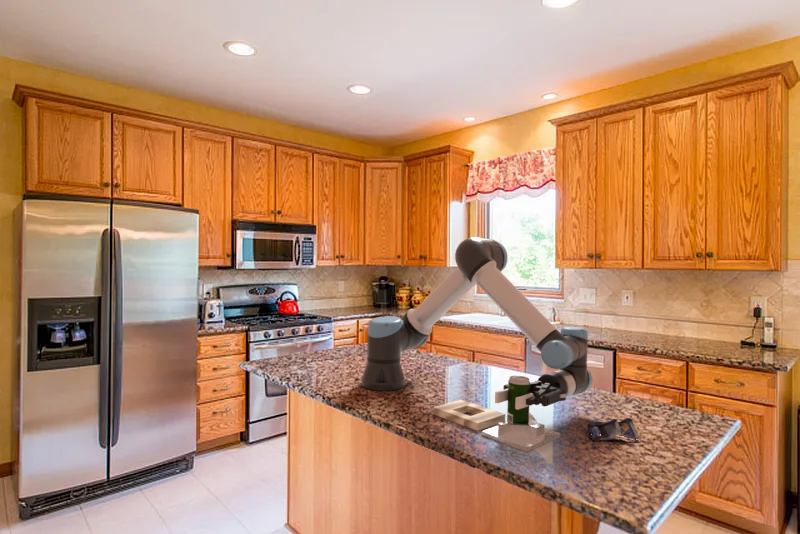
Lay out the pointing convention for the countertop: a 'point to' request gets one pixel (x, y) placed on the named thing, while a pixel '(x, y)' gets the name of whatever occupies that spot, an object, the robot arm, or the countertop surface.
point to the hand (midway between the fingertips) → (506, 400)
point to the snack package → (613, 430)
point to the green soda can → (515, 389)
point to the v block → (522, 434)
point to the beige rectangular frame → (477, 421)
